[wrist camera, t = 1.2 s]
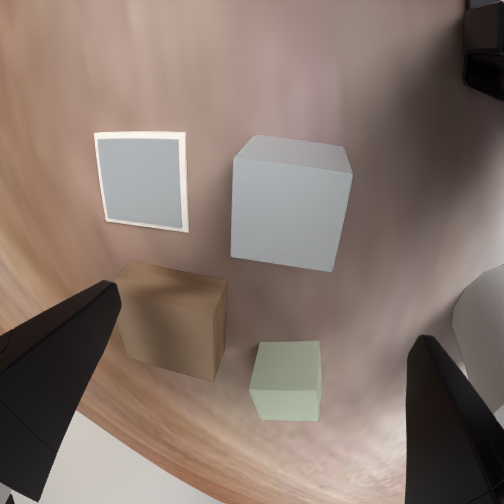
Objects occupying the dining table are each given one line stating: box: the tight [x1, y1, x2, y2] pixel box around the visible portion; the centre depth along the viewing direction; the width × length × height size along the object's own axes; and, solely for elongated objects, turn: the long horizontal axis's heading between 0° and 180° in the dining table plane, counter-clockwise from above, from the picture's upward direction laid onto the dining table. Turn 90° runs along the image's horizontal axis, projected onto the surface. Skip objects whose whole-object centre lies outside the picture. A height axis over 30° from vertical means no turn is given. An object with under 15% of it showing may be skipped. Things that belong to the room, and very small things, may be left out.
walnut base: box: [114, 261, 227, 382], centre depth 24 cm, size 8×8×4 cm
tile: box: [94, 131, 189, 233], centre depth 20 cm, size 7×7×1 cm
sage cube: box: [249, 341, 322, 421], centre depth 25 cm, size 5×5×5 cm
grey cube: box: [231, 135, 353, 272], centre depth 16 cm, size 5×5×5 cm
